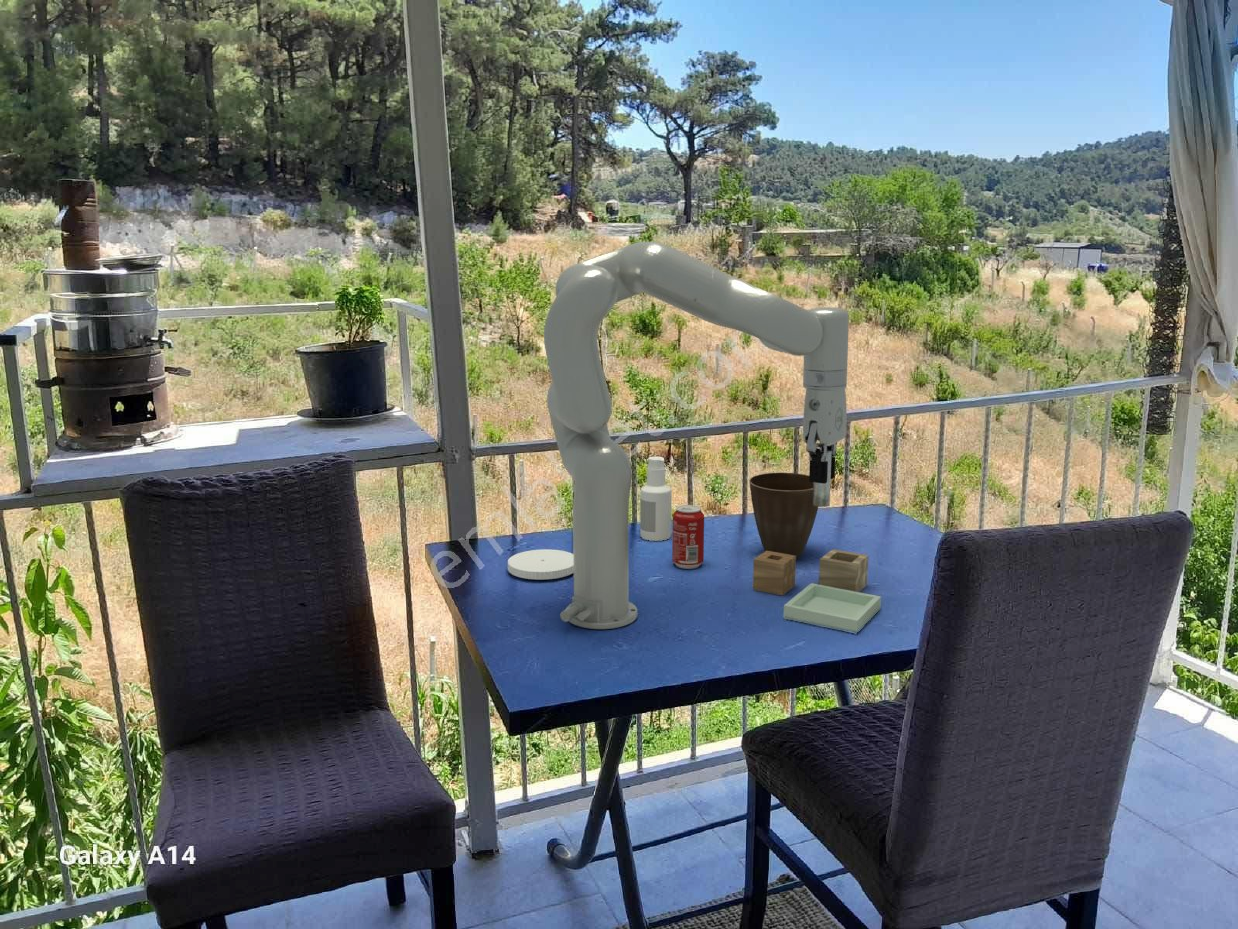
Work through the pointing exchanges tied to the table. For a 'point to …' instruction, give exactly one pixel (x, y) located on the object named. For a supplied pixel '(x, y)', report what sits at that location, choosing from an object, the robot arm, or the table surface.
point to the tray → (832, 607)
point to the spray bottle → (655, 503)
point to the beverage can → (688, 537)
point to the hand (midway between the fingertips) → (822, 479)
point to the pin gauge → (823, 487)
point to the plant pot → (783, 511)
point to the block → (774, 572)
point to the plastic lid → (541, 564)
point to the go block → (843, 570)
